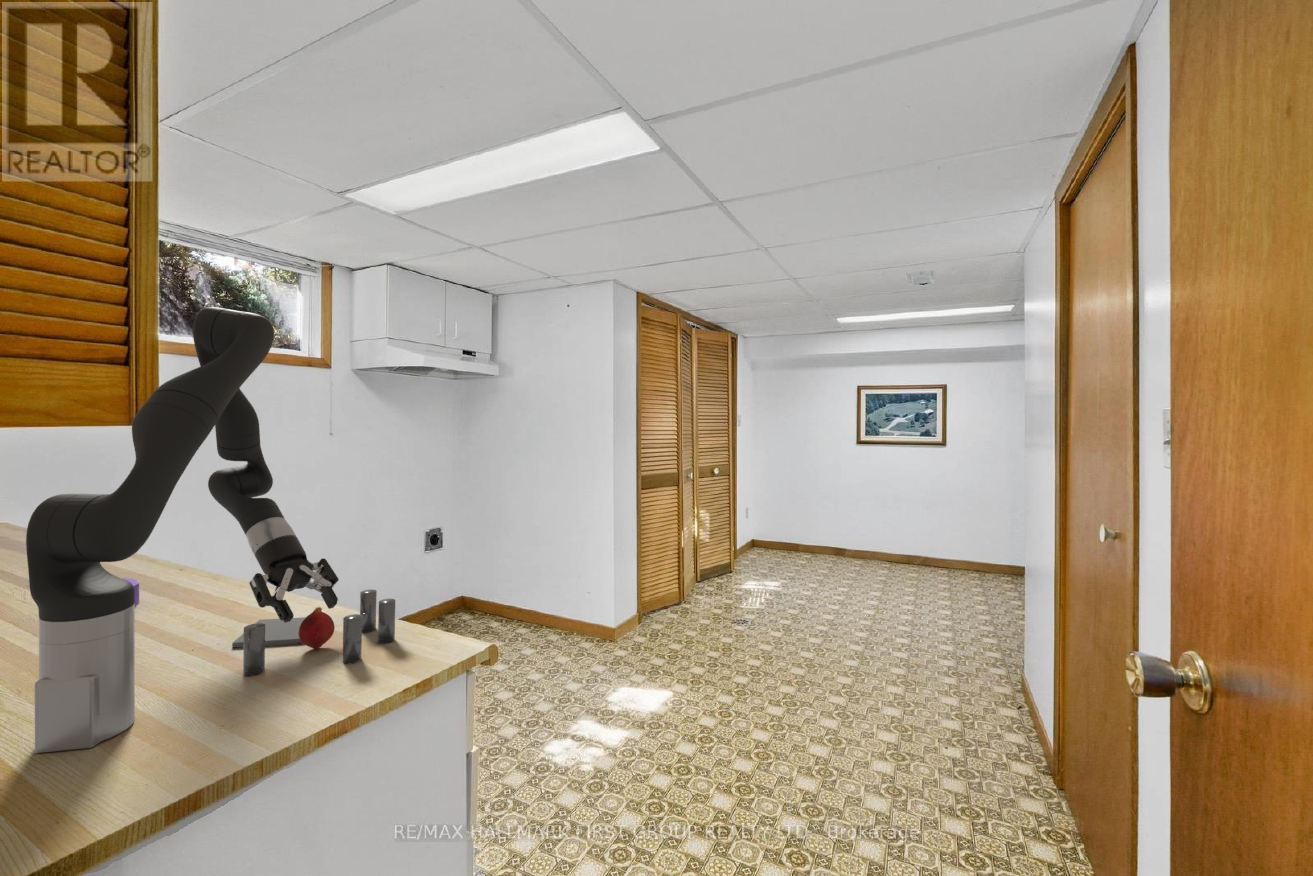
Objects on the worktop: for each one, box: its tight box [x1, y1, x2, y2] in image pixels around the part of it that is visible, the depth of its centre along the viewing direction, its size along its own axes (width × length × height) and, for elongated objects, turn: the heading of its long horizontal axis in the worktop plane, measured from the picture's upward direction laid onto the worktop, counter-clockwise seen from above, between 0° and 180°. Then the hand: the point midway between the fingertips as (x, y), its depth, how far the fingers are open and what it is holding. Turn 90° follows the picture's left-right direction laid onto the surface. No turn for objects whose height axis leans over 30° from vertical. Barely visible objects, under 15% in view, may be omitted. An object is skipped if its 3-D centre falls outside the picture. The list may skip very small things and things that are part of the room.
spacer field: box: [242, 589, 396, 677], centre depth 106 cm, size 20×22×8 cm
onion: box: [299, 606, 336, 650], centre depth 105 cm, size 6×6×8 cm
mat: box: [231, 616, 307, 648], centre depth 111 cm, size 12×12×1 cm
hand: (312, 612), depth 106 cm, fingers open, 8 cm apart
